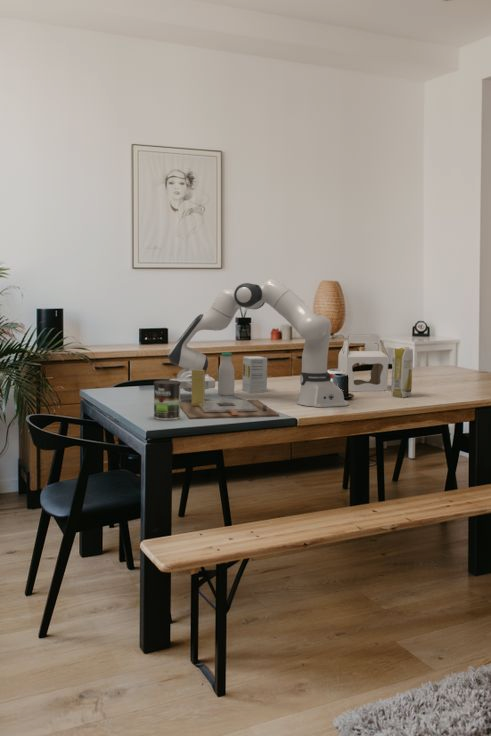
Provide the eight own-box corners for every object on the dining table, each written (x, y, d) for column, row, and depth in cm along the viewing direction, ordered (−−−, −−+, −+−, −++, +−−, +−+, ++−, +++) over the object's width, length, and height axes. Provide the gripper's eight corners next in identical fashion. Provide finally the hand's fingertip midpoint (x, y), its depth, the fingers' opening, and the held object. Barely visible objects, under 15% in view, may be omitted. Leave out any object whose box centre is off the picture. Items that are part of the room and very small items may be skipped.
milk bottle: (237, 395, 326) (238, 353, 324) (223, 396, 322) (224, 353, 320) (228, 392, 333) (229, 351, 330) (214, 394, 328) (215, 352, 326)
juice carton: (404, 398, 324) (406, 347, 321) (389, 396, 329) (391, 346, 326) (412, 396, 332) (415, 346, 329) (397, 394, 336) (399, 345, 333)
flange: (245, 402, 301) (246, 367, 299) (262, 414, 273) (262, 376, 271) (189, 403, 295) (189, 368, 293) (200, 415, 267) (200, 377, 265)
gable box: (377, 387, 360) (379, 333, 357) (387, 391, 347) (389, 335, 344) (336, 387, 355) (338, 333, 352) (345, 391, 343) (347, 335, 339)
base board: (257, 401, 309) (257, 394, 309) (279, 416, 274) (279, 409, 274) (177, 403, 301) (177, 396, 301) (189, 419, 266) (189, 411, 266)
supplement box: (241, 390, 342) (242, 356, 340) (258, 389, 346) (259, 355, 344) (250, 393, 333) (250, 358, 331) (267, 392, 337) (267, 357, 335)
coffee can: (173, 421, 262) (173, 384, 260) (149, 418, 265) (149, 382, 264) (185, 416, 271) (185, 381, 270) (161, 414, 275) (161, 379, 273)
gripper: (166, 375, 306) (170, 379, 293) (211, 374, 311) (217, 378, 298) (166, 389, 307) (170, 393, 294) (211, 388, 312) (217, 392, 298)
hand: (194, 386), depth 296 cm, fingers closed
